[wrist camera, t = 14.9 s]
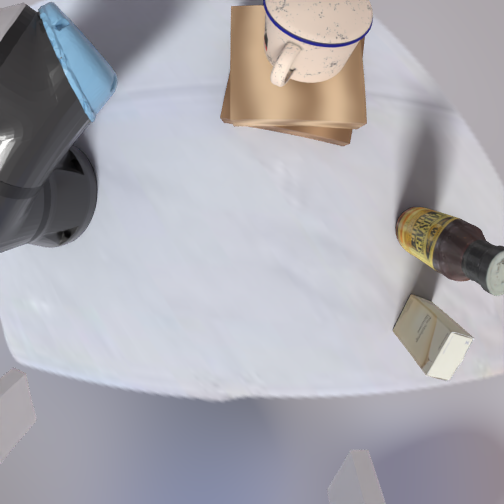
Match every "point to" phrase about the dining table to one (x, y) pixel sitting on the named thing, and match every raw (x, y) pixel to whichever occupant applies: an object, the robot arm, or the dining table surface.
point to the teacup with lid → (312, 37)
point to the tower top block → (288, 84)
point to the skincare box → (432, 338)
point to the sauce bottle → (452, 247)
